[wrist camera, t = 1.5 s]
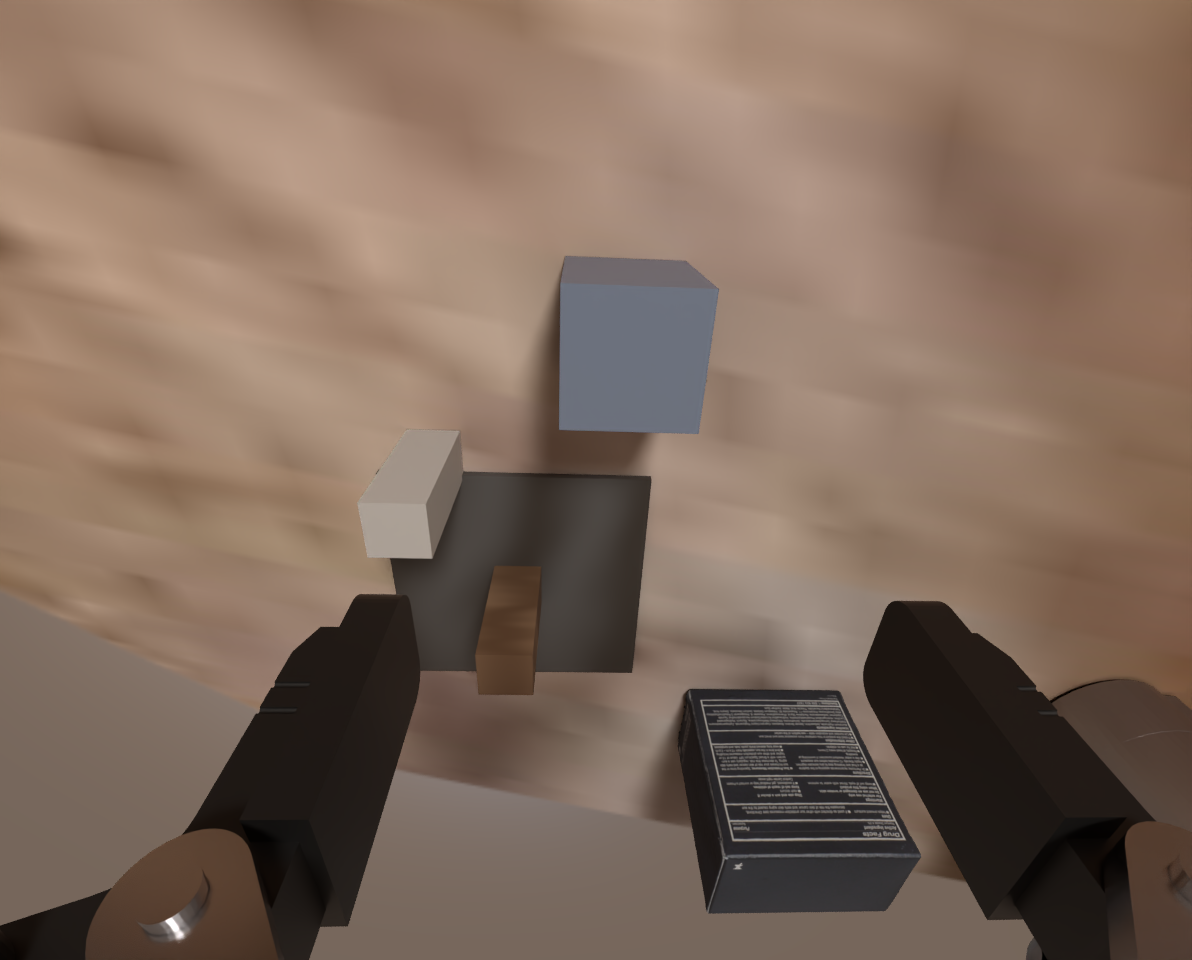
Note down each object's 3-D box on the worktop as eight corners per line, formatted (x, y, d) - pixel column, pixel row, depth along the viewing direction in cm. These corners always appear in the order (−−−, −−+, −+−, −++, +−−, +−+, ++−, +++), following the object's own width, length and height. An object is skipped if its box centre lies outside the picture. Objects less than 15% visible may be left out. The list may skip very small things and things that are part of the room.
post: (459, 430, 28) (425, 504, 22) (463, 476, 29) (432, 558, 23) (406, 429, 28) (357, 502, 22) (412, 475, 29) (367, 557, 23)
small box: (674, 749, 40) (702, 920, 31) (685, 685, 37) (720, 855, 28) (819, 750, 41) (889, 919, 31) (842, 688, 38) (927, 855, 28)
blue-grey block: (685, 260, 24) (718, 288, 18) (673, 377, 27) (698, 433, 21) (565, 255, 24) (560, 283, 18) (563, 373, 26) (559, 429, 21)
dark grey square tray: (650, 476, 29) (669, 557, 23) (631, 667, 36) (641, 769, 30) (378, 469, 29) (323, 550, 23) (410, 665, 35) (375, 768, 29)
